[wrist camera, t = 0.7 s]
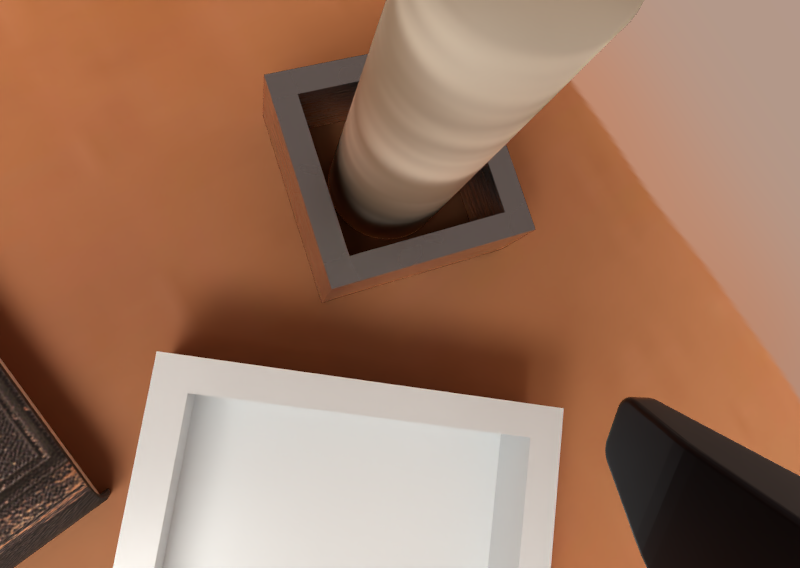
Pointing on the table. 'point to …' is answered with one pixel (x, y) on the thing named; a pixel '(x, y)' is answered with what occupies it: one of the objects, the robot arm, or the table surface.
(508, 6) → the dowel
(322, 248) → the collar
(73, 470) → the hardcover book
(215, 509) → the tray
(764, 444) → the table surface
